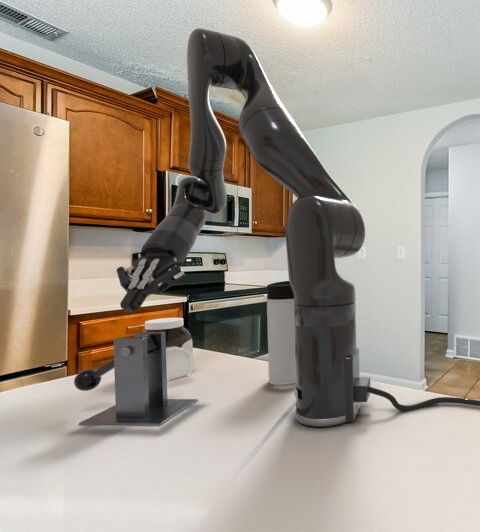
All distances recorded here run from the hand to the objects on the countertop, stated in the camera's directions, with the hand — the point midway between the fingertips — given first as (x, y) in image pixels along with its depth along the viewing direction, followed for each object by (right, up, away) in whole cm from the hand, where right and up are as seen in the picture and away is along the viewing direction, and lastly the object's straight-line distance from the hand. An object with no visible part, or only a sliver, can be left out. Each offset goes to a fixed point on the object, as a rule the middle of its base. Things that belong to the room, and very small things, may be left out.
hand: (127, 309), depth 65 cm
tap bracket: (+9, -16, -9) cm, 20 cm away
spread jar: (+1, -15, +11) cm, 19 cm away
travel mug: (+26, -15, +6) cm, 31 cm away
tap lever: (+5, -9, -9) cm, 13 cm away
